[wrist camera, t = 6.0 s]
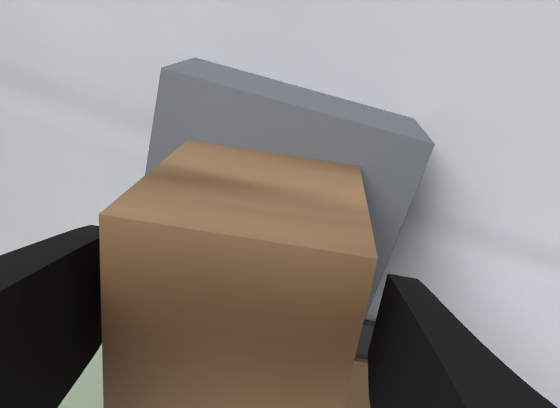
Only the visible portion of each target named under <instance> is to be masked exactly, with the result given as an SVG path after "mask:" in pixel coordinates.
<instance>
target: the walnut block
mask: <svg viewBox="0 0 560 408" xmlns="http://www.w3.org/2000/svg"><path fill="white" fill-rule="evenodd" d="M99 239H100V281H101V323H102V366H103V408H343V407H344V403H345V398H346V394H347V390H348V385H349V381H350V377H351V373H352V368H353V364H354V360H355V355H356V351H357V347H358V342H359V338H360V334H361V330H362V325H363V321H364V317H365V312H366V308H367V304H368V299H369V295H370V291H371V287H372V282H373V278H374V274H375V269H376V265H377V261H378V256H377V251H376V246H375V241H374V236H373V231H372V226H371V221H370V216H369V211H368V205H367V200H366V195H365V190H364V185H363V180H362V175H361V170H360V166H356V165H350V164H343V163H336V162H330V161H323V160H316V159H310V158H303V157H296V156H290V155H283V154H276V153H270V152H263V151H256V150H250V149H243V148H236V147H230V146H223V145H216V144H209V143H203V142H196V141H189V140H187V141H186V142H185V143H183V144H182V145H181V146H180V147H179V148H177V149H176V150H175V151H174V152H173V153H172V154H170V155H169V156H168V157H167V158H166V159H164V160H163V161H162V162H161V163H160V164H158V165H157V166H156V167H155V168H154V169H152V170H151V171H150V172H149V173H148V174H146V175H145V176H144V177H143V178H142V179H140V180H139V181H138V182H137V183H136V184H134V185H133V186H132V187H131V188H130V189H129V190H127V191H126V192H125V193H124V194H123V195H121V196H120V197H119V198H118V199H117V200H115V201H114V202H113V203H112V204H111V205H109V206H108V207H107V208H106V209H105V210H103V211H102V212H101V213H100V214H99Z"/></svg>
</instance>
